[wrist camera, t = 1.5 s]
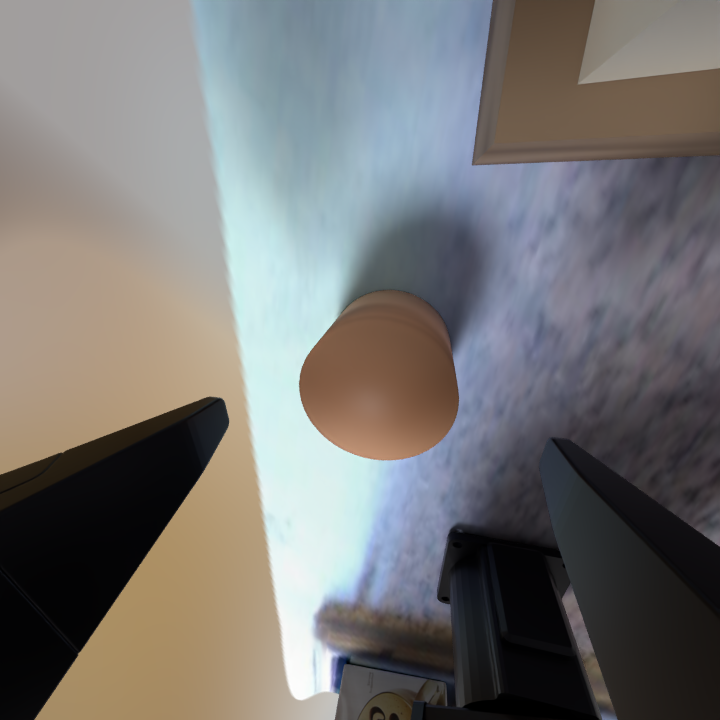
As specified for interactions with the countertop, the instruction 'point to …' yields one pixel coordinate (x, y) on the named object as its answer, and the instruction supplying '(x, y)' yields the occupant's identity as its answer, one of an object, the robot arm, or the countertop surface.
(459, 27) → the countertop surface
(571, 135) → the tower base
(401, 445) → the brown short cylinder
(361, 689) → the coffee box
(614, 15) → the tower top block
